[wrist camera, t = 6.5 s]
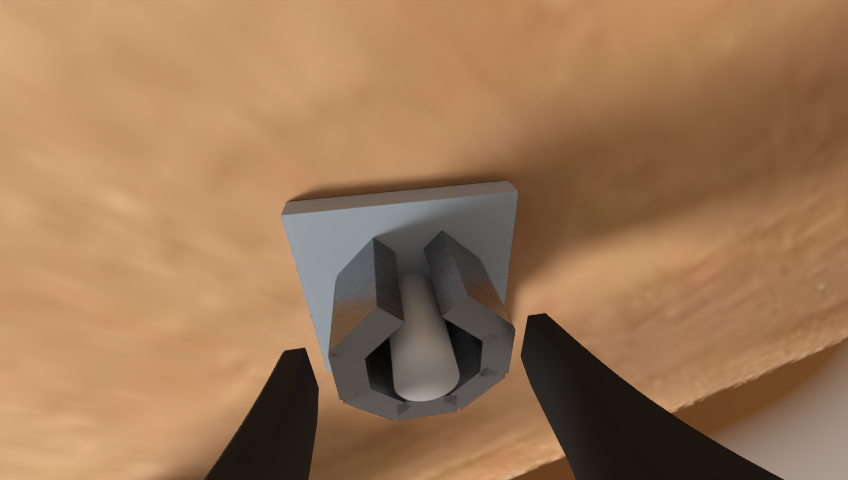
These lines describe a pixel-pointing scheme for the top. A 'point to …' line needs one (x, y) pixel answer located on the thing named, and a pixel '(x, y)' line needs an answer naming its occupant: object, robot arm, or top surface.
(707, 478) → the robot arm
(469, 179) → the top surface
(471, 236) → the post stand
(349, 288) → the snap ring
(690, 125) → the top surface
